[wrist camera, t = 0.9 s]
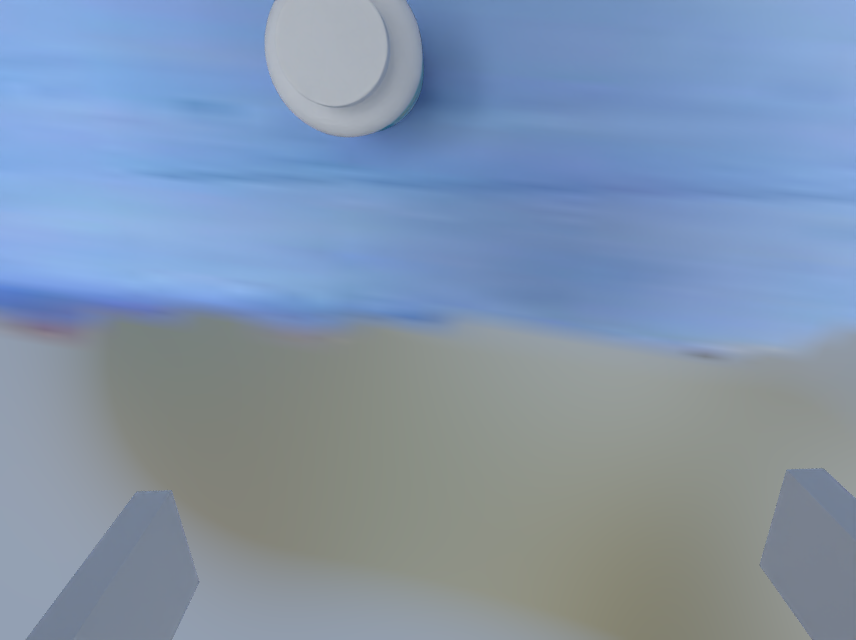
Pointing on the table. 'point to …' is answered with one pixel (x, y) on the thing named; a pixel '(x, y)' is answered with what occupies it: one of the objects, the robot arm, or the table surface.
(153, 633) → the robot arm
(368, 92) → the pill bottle
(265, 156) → the table surface
